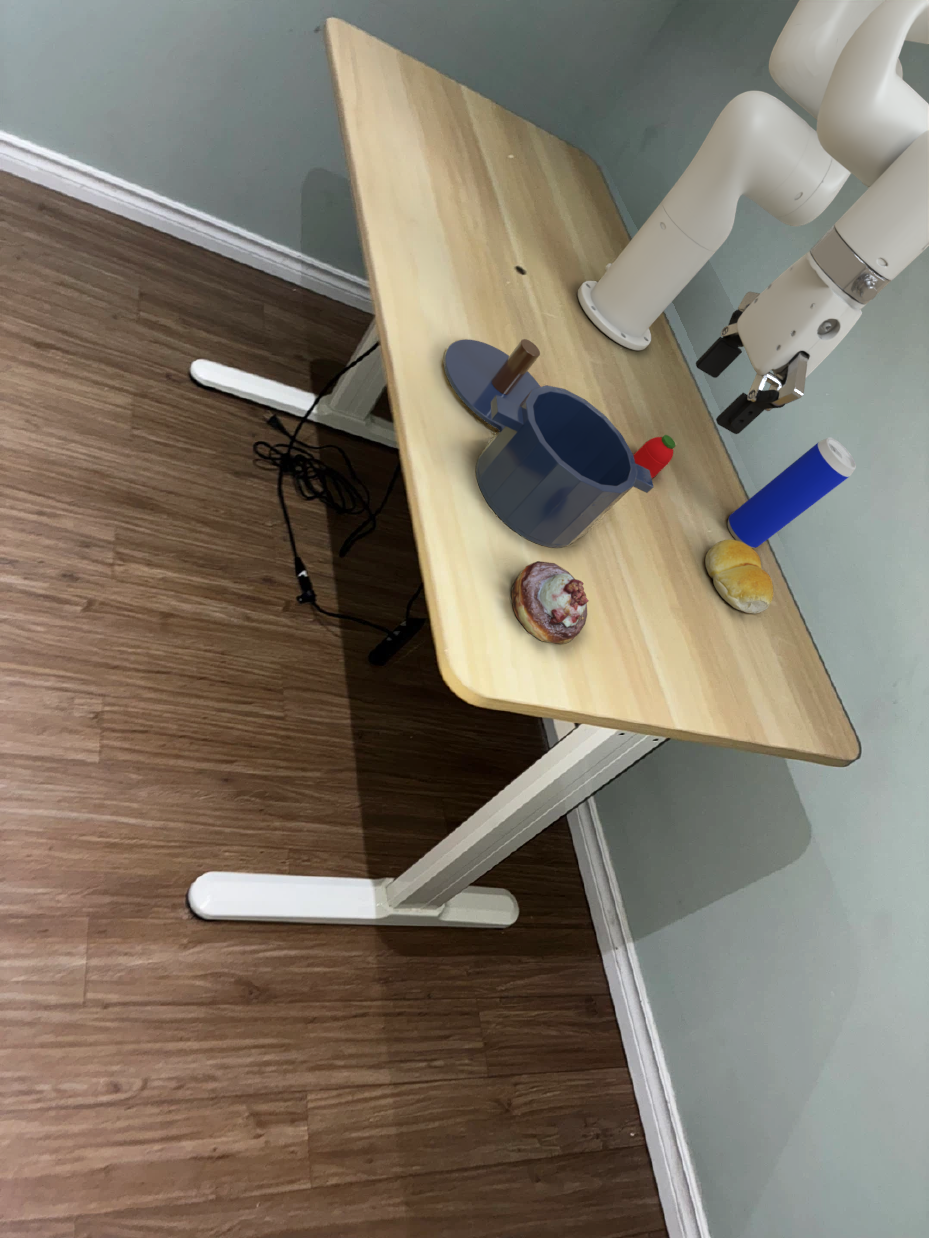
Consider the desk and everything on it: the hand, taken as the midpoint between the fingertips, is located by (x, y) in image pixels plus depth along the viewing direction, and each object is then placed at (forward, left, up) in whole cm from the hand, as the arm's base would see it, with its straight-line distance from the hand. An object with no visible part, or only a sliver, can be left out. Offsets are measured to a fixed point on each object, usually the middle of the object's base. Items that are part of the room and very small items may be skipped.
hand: (715, 398), depth 88 cm
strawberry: (0, 0, -12) cm, 12 cm away
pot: (+14, -18, -12) cm, 25 cm away
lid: (0, -21, -11) cm, 24 cm away
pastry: (+28, -18, -12) cm, 35 cm away
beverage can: (+4, +15, -12) cm, 20 cm away
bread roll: (+14, +10, -12) cm, 21 cm away
